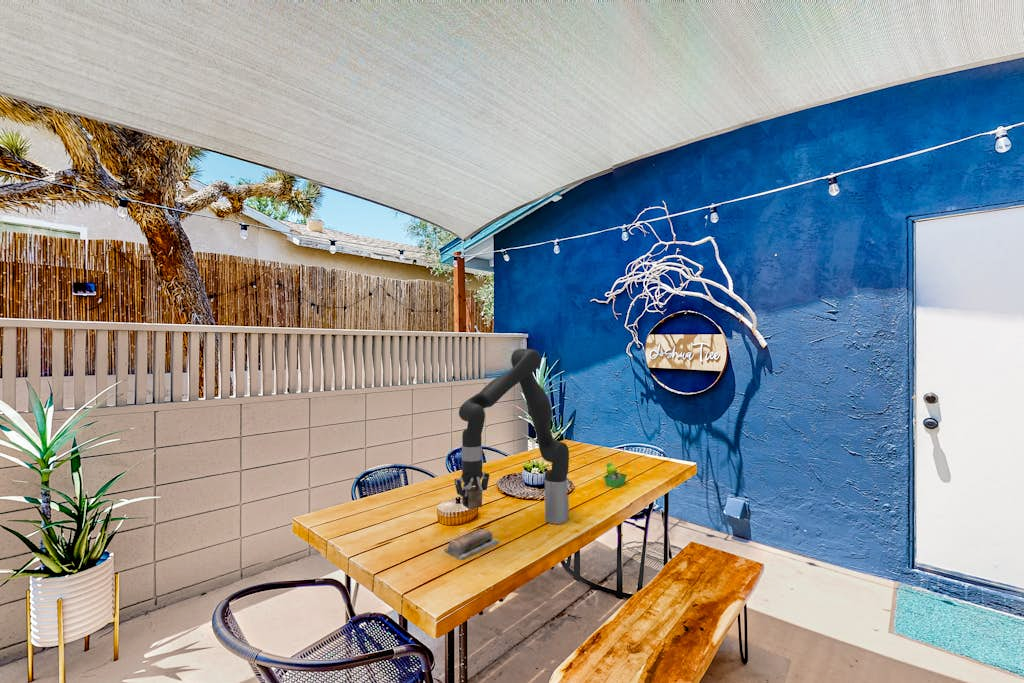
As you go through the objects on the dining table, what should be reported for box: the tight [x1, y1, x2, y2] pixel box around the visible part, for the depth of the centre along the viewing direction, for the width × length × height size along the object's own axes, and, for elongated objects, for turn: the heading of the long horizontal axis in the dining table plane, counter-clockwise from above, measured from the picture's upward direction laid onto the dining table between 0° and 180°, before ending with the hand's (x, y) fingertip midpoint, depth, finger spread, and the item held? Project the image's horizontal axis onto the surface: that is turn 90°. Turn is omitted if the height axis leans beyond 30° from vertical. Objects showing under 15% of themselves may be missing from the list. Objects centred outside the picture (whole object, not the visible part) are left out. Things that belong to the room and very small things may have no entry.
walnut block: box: [462, 486, 483, 511], centre depth 157 cm, size 5×5×6 cm
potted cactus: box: [603, 462, 628, 489], centre depth 226 cm, size 11×9×11 cm
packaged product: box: [443, 528, 500, 561], centre depth 158 cm, size 18×5×10 cm
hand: (472, 504), depth 157 cm, fingers closed on walnut block, 5 cm apart
